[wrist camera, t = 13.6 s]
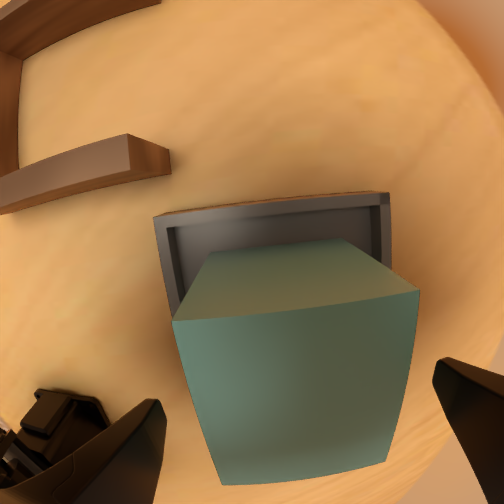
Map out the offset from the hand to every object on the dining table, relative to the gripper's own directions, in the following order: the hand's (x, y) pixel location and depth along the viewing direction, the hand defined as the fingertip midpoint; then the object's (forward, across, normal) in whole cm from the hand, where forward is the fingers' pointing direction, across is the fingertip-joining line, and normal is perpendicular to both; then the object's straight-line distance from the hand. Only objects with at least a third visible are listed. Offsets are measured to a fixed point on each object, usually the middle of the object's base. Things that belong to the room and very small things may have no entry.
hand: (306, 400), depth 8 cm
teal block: (+6, 0, 0) cm, 6 cm away
